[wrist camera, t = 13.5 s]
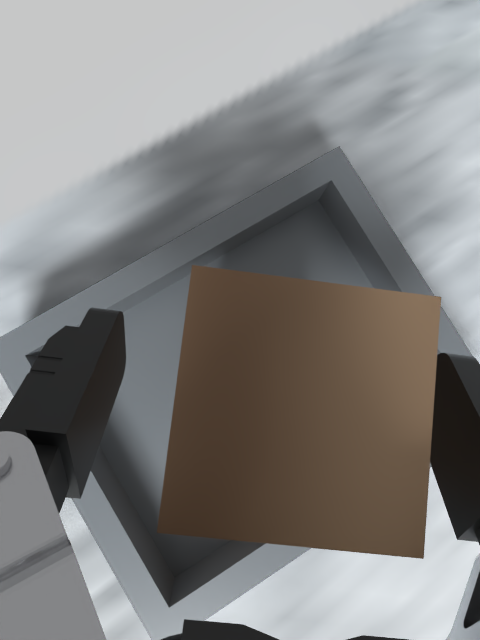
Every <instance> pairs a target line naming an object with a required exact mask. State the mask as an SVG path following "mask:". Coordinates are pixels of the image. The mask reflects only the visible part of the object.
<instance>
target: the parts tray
mask: <svg viewBox="0 0 480 640" xmlns="http://www.w3.org/2000/svg"><path fill="white" fill-rule="evenodd" d="M192 265H197V266H205V267H212V268H220V269H228V270H236V271H243V272H251V273H259V274H267V275H274V276H282V277H290V278H298V279H305V280H313V281H321V282H329V283H336V284H344V285H352V286H360V287H368V288H375V289H383V290H391V291H399V292H406V293H414V294H422V295H430V296H434V294H433V293H432V291H431V290H430V288H429V287H428V285H427V283H426V282H425V280H424V279H423V277H422V276H421V274H420V272H419V271H418V269H417V268H416V266H415V265H414V263H413V261H412V260H411V258H410V257H409V255H408V254H407V252H406V250H405V249H404V247H403V246H402V244H401V243H400V241H399V239H398V238H397V236H396V235H395V233H394V231H393V230H392V228H391V227H390V225H389V224H388V222H387V220H386V219H385V217H384V216H383V214H382V213H381V211H380V209H379V208H378V206H377V205H376V203H375V202H374V200H373V198H372V197H371V195H370V194H369V192H368V191H367V189H366V187H365V186H364V184H363V183H362V181H361V180H360V178H359V176H358V175H357V173H356V172H355V170H354V168H353V167H352V165H351V164H350V162H349V161H348V159H347V157H346V156H345V154H344V153H343V151H342V150H341V148H340V146H339V147H337V148H335V149H333V150H332V151H330V152H328V153H326V154H325V155H323V156H321V157H319V158H317V159H316V160H314V161H312V162H310V163H309V164H307V165H305V166H303V167H302V168H300V169H298V170H296V171H294V172H293V173H291V174H289V175H287V176H286V177H284V178H282V179H280V180H278V181H277V182H275V183H273V184H271V185H270V186H268V187H266V188H264V189H262V190H261V191H259V192H257V193H255V194H254V195H252V196H250V197H248V198H247V199H245V200H243V201H241V202H239V203H238V204H236V205H234V206H232V207H231V208H229V209H227V210H225V211H223V212H222V213H220V214H218V215H216V216H215V217H213V218H211V219H209V220H207V221H206V222H204V223H202V224H200V225H199V226H197V227H195V228H193V229H192V230H190V231H188V232H186V233H184V234H183V235H181V236H179V237H177V238H176V239H174V240H172V241H170V242H168V243H167V244H165V245H163V246H161V247H160V248H158V249H156V250H154V251H152V252H151V253H149V254H147V255H145V256H144V257H142V258H140V259H138V260H136V261H135V262H133V263H131V264H129V265H128V266H126V267H124V268H122V269H121V270H119V271H117V272H115V273H113V274H112V275H110V276H108V277H106V278H105V279H103V280H101V281H99V282H97V283H96V284H94V285H92V286H90V287H89V288H87V289H85V290H83V291H81V292H80V293H78V294H76V295H74V296H73V297H71V298H69V299H67V300H66V301H64V302H62V303H60V304H58V305H57V306H55V307H53V308H51V309H50V310H48V311H46V312H44V313H42V314H41V315H39V316H37V317H35V318H34V319H32V320H30V321H28V322H26V323H25V324H23V325H21V326H19V327H18V328H16V329H14V330H12V331H10V332H9V333H7V334H5V335H3V336H2V337H0V373H1V375H2V376H3V378H4V380H5V382H6V384H7V385H8V387H9V389H10V391H11V392H12V394H13V396H14V395H15V394H16V392H17V390H18V389H19V387H20V385H21V384H22V382H23V380H24V379H25V377H26V375H27V374H28V373H30V369H31V367H32V365H33V364H34V362H35V360H36V359H38V355H39V354H40V352H41V350H42V349H43V347H44V345H45V344H46V342H47V340H48V339H49V338H50V337H51V336H53V335H54V334H55V333H57V332H58V331H59V330H60V329H62V328H63V327H64V326H74V327H80V325H81V323H82V321H83V319H84V317H85V315H86V313H87V312H88V310H89V309H90V308H100V309H108V310H116V311H122V312H123V315H124V327H125V344H126V366H125V372H124V376H123V380H122V383H121V386H120V388H119V391H118V394H117V397H116V400H115V403H114V405H113V408H112V411H111V414H110V417H109V420H108V423H107V425H106V428H105V431H104V434H103V437H102V440H101V442H100V445H99V448H98V451H97V454H96V457H95V460H94V462H93V465H92V468H91V471H90V474H89V477H88V479H87V482H86V485H85V488H84V491H83V494H82V497H81V499H78V498H72V500H73V502H74V504H75V505H76V507H77V509H78V511H79V512H80V514H81V516H82V518H83V520H84V521H85V523H86V525H87V527H88V528H89V530H90V532H91V534H92V535H93V537H94V539H95V541H96V543H97V544H98V546H99V548H100V550H101V551H102V553H103V555H104V557H105V558H106V560H107V562H108V564H109V565H110V567H111V569H112V571H113V573H114V574H115V576H116V578H117V580H118V581H119V583H120V585H121V587H122V588H123V590H124V592H125V594H126V595H127V597H128V599H129V601H130V603H131V604H132V606H133V608H134V610H135V611H136V613H137V615H138V617H139V618H140V620H141V622H142V624H143V626H144V627H145V629H146V631H147V633H148V634H149V636H150V638H151V640H161V639H163V638H166V637H168V636H172V635H177V634H181V633H182V630H183V623H184V619H187V620H198V621H204V620H206V619H207V618H209V617H210V616H212V615H213V614H215V613H216V612H218V611H219V610H221V609H222V608H224V607H225V606H226V605H228V604H229V603H231V602H232V601H234V600H235V599H237V598H238V597H240V596H241V595H243V594H244V593H246V592H247V591H249V590H250V589H252V588H253V587H255V586H256V585H257V584H259V583H260V582H262V581H263V580H265V579H266V578H268V577H269V576H271V575H272V574H274V573H275V572H277V571H278V570H280V569H281V568H283V567H284V566H286V565H287V564H288V563H290V562H291V561H293V560H294V559H296V558H297V557H299V556H300V555H302V554H303V553H305V552H306V551H308V550H309V549H311V548H308V547H298V546H288V545H277V544H267V543H257V542H246V541H236V540H225V539H215V538H205V537H194V536H184V535H174V534H163V533H157V527H158V519H159V512H160V504H161V496H162V489H163V481H164V474H165V466H166V459H167V451H168V443H169V436H170V428H171V421H172V413H173V405H174V398H175V390H176V383H177V375H178V367H179V360H180V352H181V345H182V337H183V329H184V322H185V314H186V307H187V299H188V291H189V284H190V276H191V269H192ZM440 353H450V354H458V355H466V356H472V354H471V353H470V351H469V350H468V348H467V346H466V345H465V343H464V342H463V340H462V339H461V337H460V335H459V334H458V332H457V331H456V329H455V328H454V326H453V324H452V323H451V321H450V320H449V318H448V317H447V315H446V313H445V312H444V310H443V309H442V307H441V306H440V321H439V335H438V350H437V355H438V354H440ZM472 357H473V356H472ZM430 467H432V466H431V463H430Z"/></svg>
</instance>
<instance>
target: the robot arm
mask: <svg viewBox="0 0 480 640" xmlns="http://www.w3.org/2000/svg"><path fill="white" fill-rule="evenodd" d="M125 366H126V344H125V327H124V315H123V312H122V311H116V310H108V309H100V308H90V309H89V310H88V312H87V313H86V315H85V317H84V319H83V321H82V323H81V325H80V327H74V326H64V327H63V328H62V329H60V330H59V331H58V332H57V333H55V334H54V335H53V336H51V337H50V338H49V339H48V340H47V342H46V344H45V345H44V347H43V349H42V350H41V352H40V354H39V355H38V359H36V360H35V362H34V364H33V365H32V367H31V369H30V373H28V374H27V375H26V377H25V379H24V380H23V382H22V384H21V385H20V387H19V389H18V390H17V392H16V394H15V395H14V397H13V399H12V400H11V402H10V404H9V405H8V407H7V409H6V410H5V412H4V414H3V415H2V417H1V419H0V640H106V638H105V635H104V632H103V629H102V627H101V624H100V621H99V618H98V616H97V613H96V610H95V608H94V605H93V602H92V599H91V597H90V594H89V591H88V589H87V586H86V583H85V580H84V578H83V575H82V572H81V570H80V567H79V564H78V561H77V559H76V556H75V553H74V551H73V548H72V546H71V543H70V541H69V540H68V537H67V534H66V532H65V529H64V526H63V524H62V521H61V518H60V515H59V513H60V510H61V508H62V505H63V502H64V500H65V497H68V498H78V499H81V497H82V494H83V491H84V488H85V485H86V482H87V479H88V477H89V474H90V471H91V468H92V465H93V462H94V460H95V457H96V454H97V451H98V448H99V445H100V442H101V440H102V437H103V434H104V431H105V428H106V425H107V423H108V420H109V417H110V414H111V411H112V408H113V405H114V403H115V400H116V397H117V394H118V391H119V388H120V386H121V383H122V380H123V376H124V372H125ZM430 463H431V466H432V469H433V472H434V475H435V477H436V480H437V483H438V486H439V489H440V492H441V495H442V497H443V500H444V503H445V506H446V509H447V512H448V515H449V517H450V520H451V523H452V526H453V529H454V532H455V535H456V538H457V540H466V541H476V542H479V545H480V364H479V362H478V361H477V360H476V359H475V358H474V357H472V356H466V355H458V354H450V353H440V354H438V355H437V365H436V380H435V395H434V409H433V424H432V439H431V454H430ZM161 640H279V639H276V638H274V637H272V636H269V635H267V634H264V633H262V632H260V631H257V630H255V629H252V628H250V627H248V626H245V625H242V624H231V623H220V622H209V621H198V620H187V619H184V623H183V630H182V633H181V634H177V635H172V636H168V637H166V638H163V639H161ZM347 640H407V639H396V638H385V637H374V636H359V637H355V638H351V639H347ZM446 640H480V554H479V555H478V556H477V557H476V559H475V562H474V565H473V568H472V571H471V574H470V577H469V580H468V583H467V586H466V589H465V592H464V595H463V598H462V601H461V604H460V607H459V609H458V612H457V615H456V618H455V621H454V624H453V627H452V629H451V632H450V634H449V635H448V637H447V639H446Z"/></svg>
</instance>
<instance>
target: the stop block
mask: <svg viewBox="0 0 480 640" xmlns="http://www.w3.org/2000/svg"><path fill="white" fill-rule="evenodd" d="M440 306H441V297H437V296H430V295H422V294H414V293H406V292H399V291H391V290H383V289H375V288H368V287H360V286H352V285H344V284H336V283H329V282H321V281H313V280H305V279H298V278H290V277H282V276H274V275H267V274H259V273H251V272H243V271H236V270H228V269H220V268H212V267H205V266H197V265H192V269H191V276H190V284H189V291H188V299H187V307H186V314H185V322H184V329H183V337H182V345H181V352H180V360H179V367H178V375H177V383H176V390H175V398H174V405H173V413H172V421H171V428H170V436H169V443H168V451H167V459H166V466H165V474H164V481H163V489H162V496H161V504H160V512H159V519H158V527H157V533H163V534H174V535H184V536H194V537H205V538H215V539H225V540H236V541H246V542H257V543H267V544H277V545H288V546H298V547H308V548H319V549H329V550H339V551H350V552H360V553H371V554H381V555H391V556H402V557H412V558H422V559H423V557H424V543H425V528H426V513H427V498H428V483H429V469H430V454H431V439H432V424H433V409H434V395H435V380H436V365H437V350H438V335H439V321H440Z"/></svg>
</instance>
